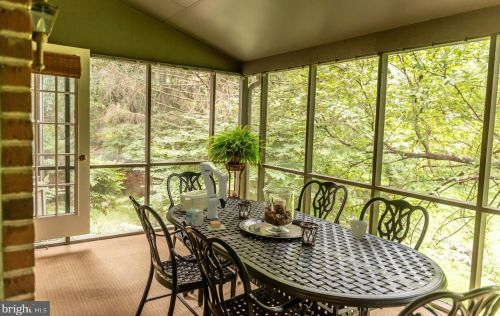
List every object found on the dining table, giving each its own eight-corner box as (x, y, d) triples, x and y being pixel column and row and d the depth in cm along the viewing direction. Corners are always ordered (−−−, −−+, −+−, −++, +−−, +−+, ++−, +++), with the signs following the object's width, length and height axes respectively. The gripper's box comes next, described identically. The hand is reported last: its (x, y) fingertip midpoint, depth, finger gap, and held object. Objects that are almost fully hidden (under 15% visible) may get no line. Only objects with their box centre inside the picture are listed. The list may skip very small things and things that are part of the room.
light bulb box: (186, 224, 255) (185, 210, 254) (190, 222, 261) (190, 208, 260) (198, 226, 251) (198, 211, 250) (203, 223, 257) (203, 209, 256)
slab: (210, 221, 252) (212, 224, 245) (218, 220, 253) (220, 223, 247) (210, 225, 252) (212, 228, 245) (218, 224, 254) (220, 227, 247)
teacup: (347, 241, 220) (347, 225, 219) (349, 234, 234) (349, 219, 233) (367, 243, 216) (368, 227, 215) (368, 236, 230) (368, 221, 229)
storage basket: (197, 205, 314) (197, 189, 312) (212, 207, 305) (212, 191, 303) (179, 211, 294) (178, 193, 292) (193, 213, 285) (193, 196, 283)
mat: (206, 226, 250) (206, 226, 250) (222, 225, 254) (222, 224, 254) (209, 230, 241) (209, 230, 240) (226, 229, 244) (226, 228, 244)
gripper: (215, 188, 265) (215, 206, 266) (219, 192, 251) (220, 211, 252) (224, 188, 267) (224, 205, 268) (229, 191, 253) (229, 210, 254)
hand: (223, 208), depth 260 cm, fingers closed
